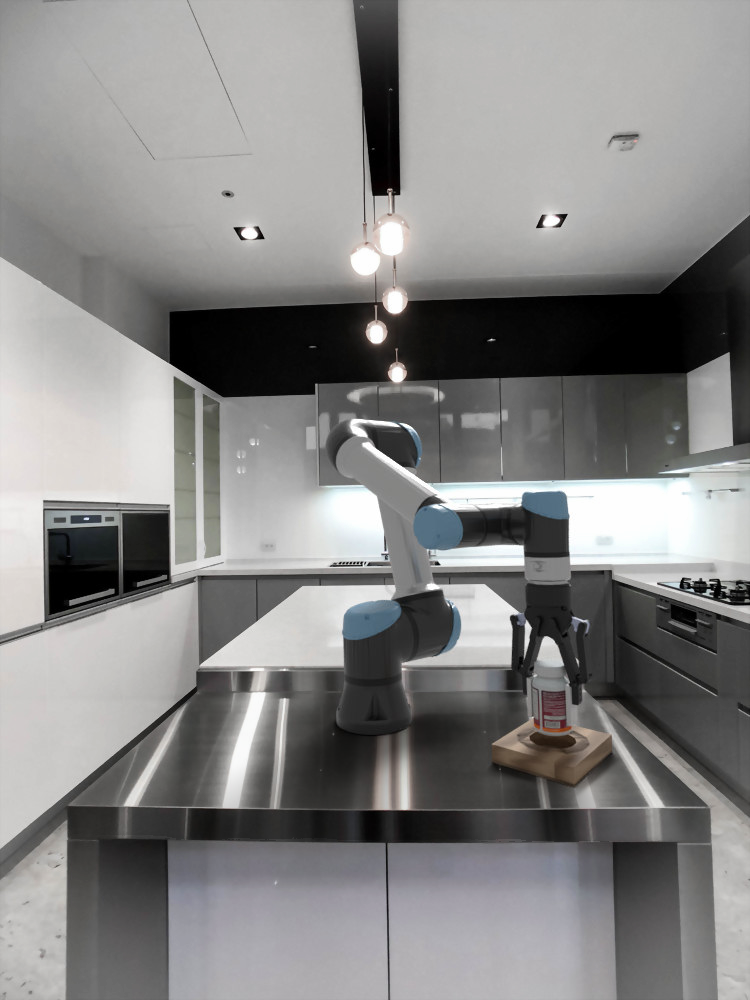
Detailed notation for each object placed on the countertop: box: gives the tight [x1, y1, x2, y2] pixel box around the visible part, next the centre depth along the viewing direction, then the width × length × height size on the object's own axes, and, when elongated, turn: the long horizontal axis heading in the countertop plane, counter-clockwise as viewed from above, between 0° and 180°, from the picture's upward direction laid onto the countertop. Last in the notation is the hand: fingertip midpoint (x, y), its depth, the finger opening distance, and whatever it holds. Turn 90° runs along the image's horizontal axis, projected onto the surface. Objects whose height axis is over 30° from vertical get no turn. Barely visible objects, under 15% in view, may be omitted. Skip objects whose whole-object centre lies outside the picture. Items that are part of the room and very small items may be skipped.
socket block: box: [491, 717, 613, 788], centre depth 97 cm, size 14×16×3 cm
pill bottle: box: [532, 658, 572, 736], centre depth 97 cm, size 6×6×11 cm
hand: (552, 718), depth 97 cm, fingers closed on pill bottle, 6 cm apart
